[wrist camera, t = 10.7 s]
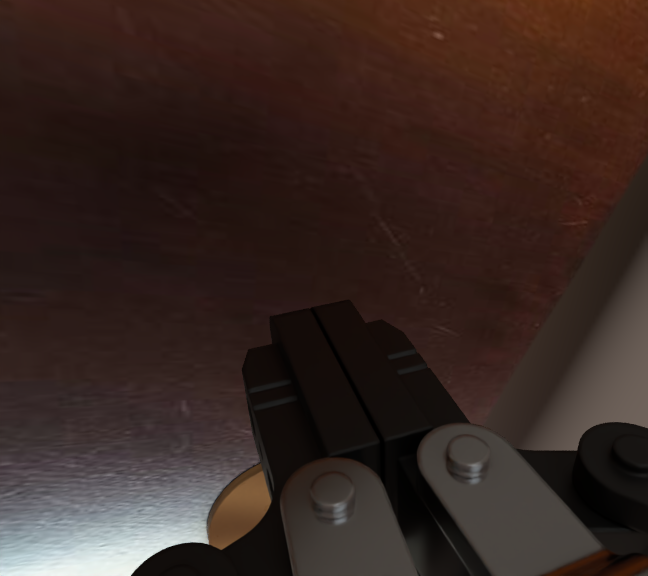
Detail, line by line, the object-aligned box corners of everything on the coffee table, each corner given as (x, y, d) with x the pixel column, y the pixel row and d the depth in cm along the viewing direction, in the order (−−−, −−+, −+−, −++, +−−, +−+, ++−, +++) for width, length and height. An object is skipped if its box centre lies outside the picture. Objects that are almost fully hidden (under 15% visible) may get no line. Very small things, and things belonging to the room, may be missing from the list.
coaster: (193, 479, 30) (195, 488, 29) (359, 433, 32) (363, 440, 31) (220, 585, 34) (222, 594, 34) (364, 539, 36) (367, 547, 36)
